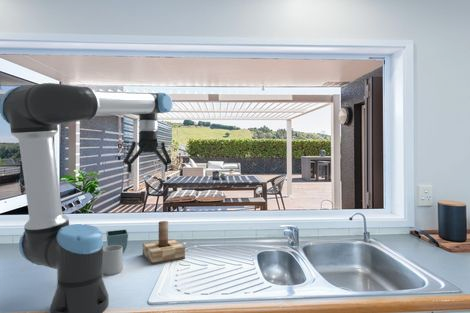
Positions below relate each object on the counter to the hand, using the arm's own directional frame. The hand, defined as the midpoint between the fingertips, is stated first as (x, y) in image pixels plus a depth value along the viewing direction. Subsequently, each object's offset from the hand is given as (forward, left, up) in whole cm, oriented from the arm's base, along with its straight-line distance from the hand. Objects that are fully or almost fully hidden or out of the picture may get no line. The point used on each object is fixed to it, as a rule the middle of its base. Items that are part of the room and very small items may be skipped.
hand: (147, 179), depth 134 cm
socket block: (-4, -6, -33) cm, 34 cm away
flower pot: (+12, +10, -33) cm, 37 cm away
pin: (-4, -6, -32) cm, 33 cm away
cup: (-9, +15, -33) cm, 38 cm away
